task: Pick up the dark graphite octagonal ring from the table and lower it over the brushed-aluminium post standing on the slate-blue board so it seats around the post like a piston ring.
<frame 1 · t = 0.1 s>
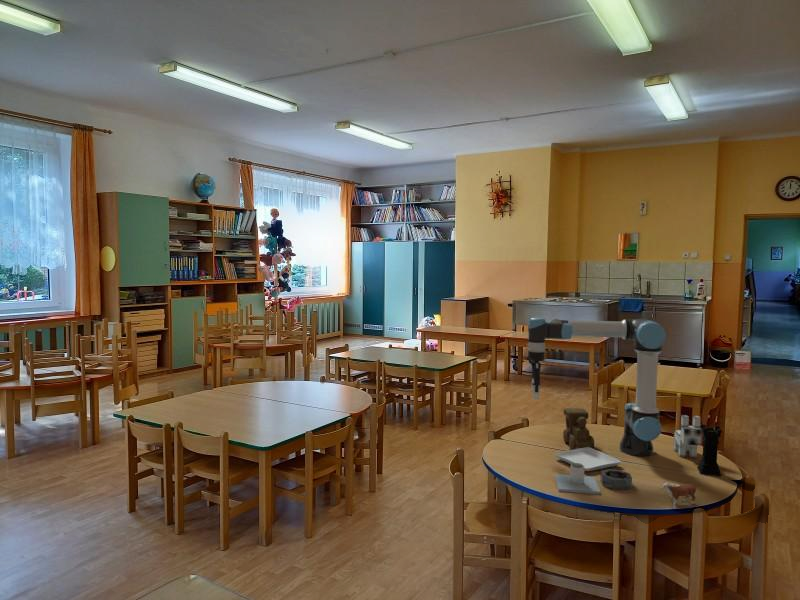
hand: (535, 395, 272), 28 cm above the table, fingers open, 13 cm apart
ring: (615, 484, 237), on the table
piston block: (576, 484, 236), on the table
salad plate: (587, 464, 261), on the table
bull figurine: (678, 503, 219), on the table
chess piece: (708, 472, 252), on the table
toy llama: (685, 454, 274), on the table
wooden toy train: (577, 446, 285), on the table
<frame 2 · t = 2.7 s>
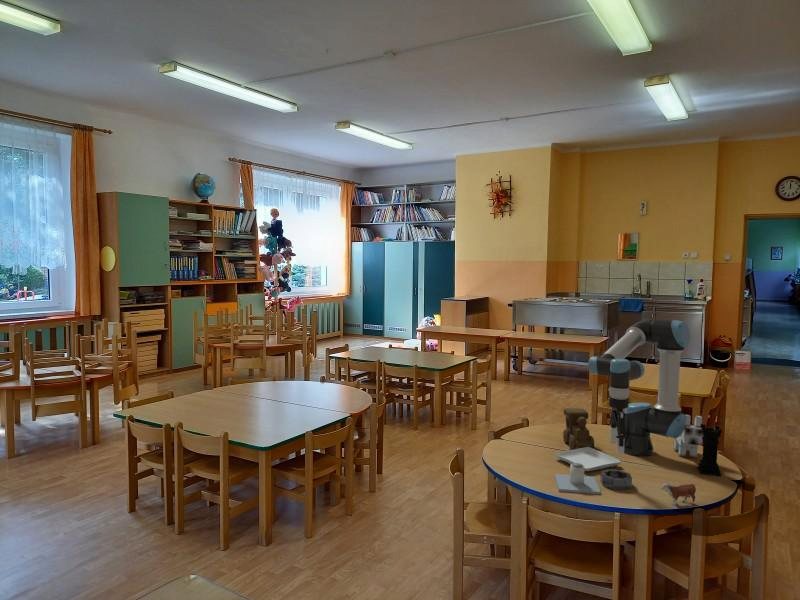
hand: (616, 448, 236), 15 cm above the table, fingers open, 13 cm apart
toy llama: (685, 454, 274), on the table, touching arm
everything else where it was.
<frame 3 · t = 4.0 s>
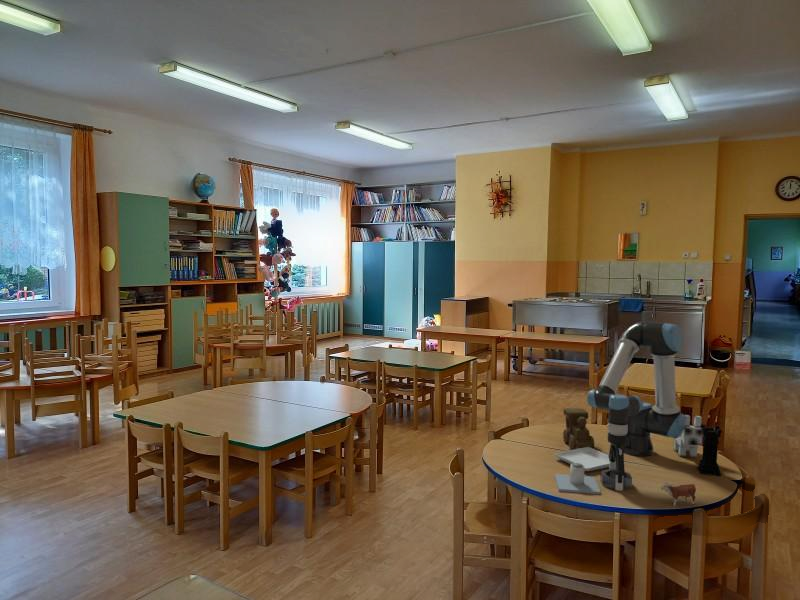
hand: (615, 483, 237), 0 cm above the table, fingers open, 13 cm apart
nothing on the table moved.
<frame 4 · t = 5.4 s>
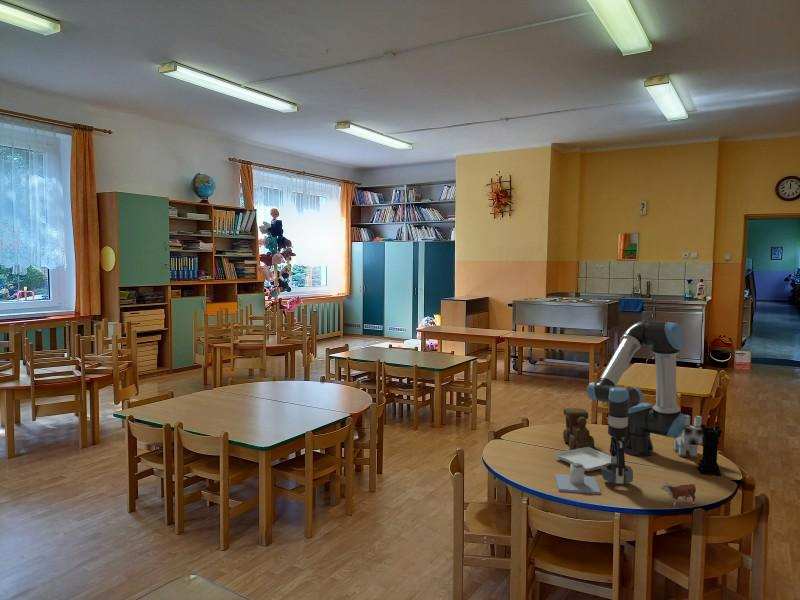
hand: (616, 477, 238), 3 cm above the table, fingers closed on ring, 11 cm apart
ring: (616, 477, 238), point 3 cm above the table, touching gripper
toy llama: (685, 454, 274), on the table
everything else where it was.
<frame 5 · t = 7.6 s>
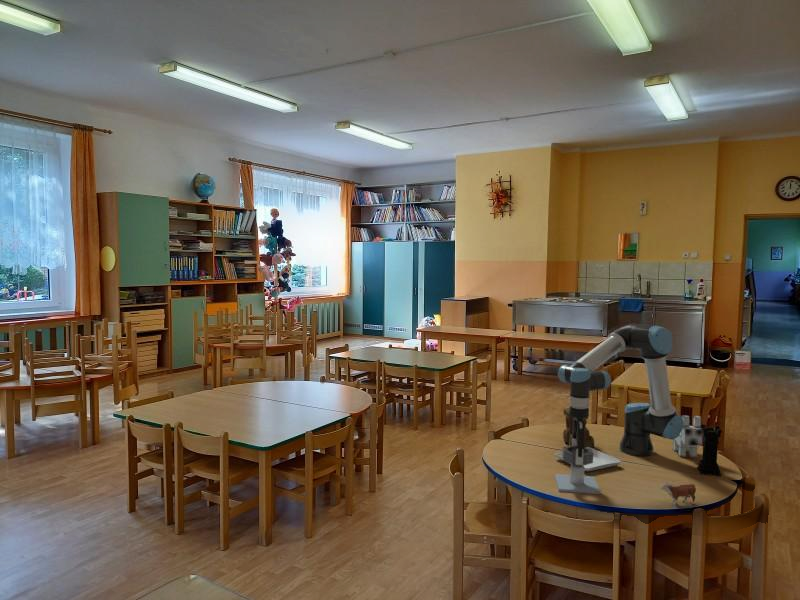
hand: (577, 459, 235), 11 cm above the table, fingers closed on ring, 11 cm apart
ring: (577, 459, 235), point 11 cm above the table, touching gripper
everything else where it was.
when the fingers open (2 cm above the table, at t = 9.8 s): ring drops 1 cm, resting on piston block.
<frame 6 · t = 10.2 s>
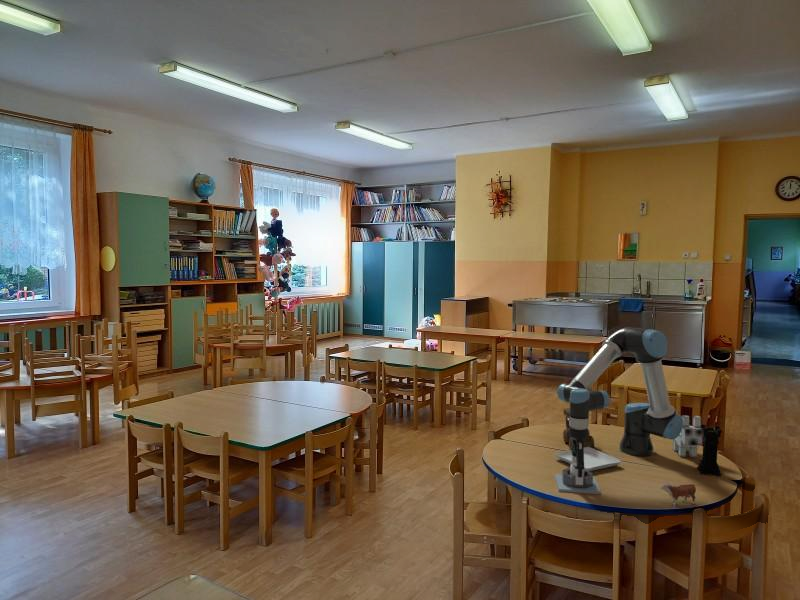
hand: (577, 478, 236), 3 cm above the table, fingers open, 13 cm apart
ring: (577, 482, 236), point 1 cm above the table, touching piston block
everything else where it was.
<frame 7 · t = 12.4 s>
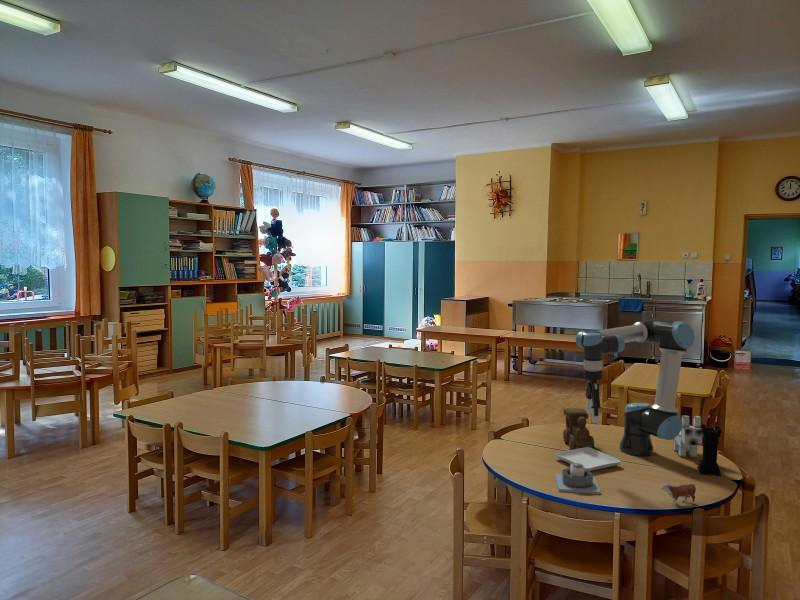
hand: (592, 418, 246), 24 cm above the table, fingers open, 13 cm apart
nothing on the table moved.
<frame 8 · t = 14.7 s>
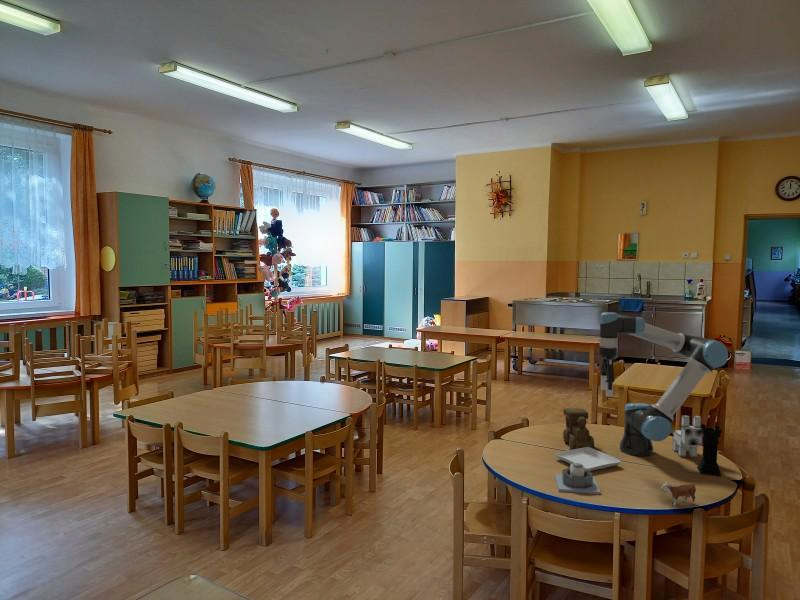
hand: (606, 393, 262), 32 cm above the table, fingers open, 13 cm apart
nothing on the table moved.
at the end: ring 0.1 cm off-centre on the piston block, point 1.0 cm above the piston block's base; ring tilted 0°; the gripper is holding nothing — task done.
